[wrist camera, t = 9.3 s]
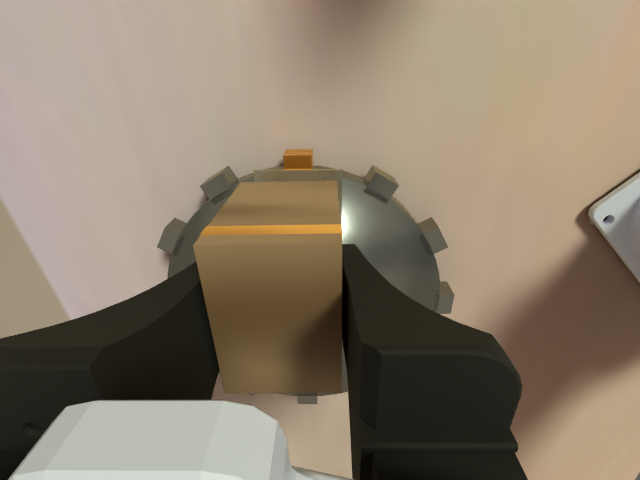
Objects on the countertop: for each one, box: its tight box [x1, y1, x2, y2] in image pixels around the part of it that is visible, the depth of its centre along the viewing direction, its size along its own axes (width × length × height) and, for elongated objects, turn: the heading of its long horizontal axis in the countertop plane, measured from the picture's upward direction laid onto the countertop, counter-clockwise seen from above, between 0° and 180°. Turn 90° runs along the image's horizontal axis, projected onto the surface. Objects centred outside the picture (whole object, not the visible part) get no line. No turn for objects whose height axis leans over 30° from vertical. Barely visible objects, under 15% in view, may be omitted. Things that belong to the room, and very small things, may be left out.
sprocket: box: [157, 149, 454, 404], centre depth 17 cm, size 15×15×5 cm
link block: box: [193, 180, 342, 393], centre depth 11 cm, size 5×4×5 cm
